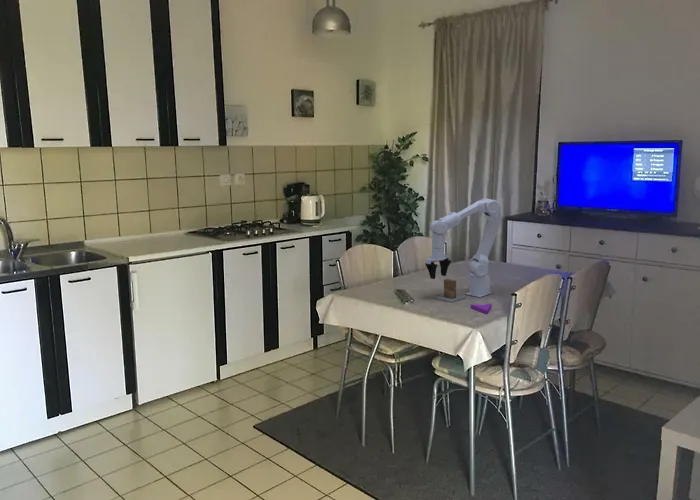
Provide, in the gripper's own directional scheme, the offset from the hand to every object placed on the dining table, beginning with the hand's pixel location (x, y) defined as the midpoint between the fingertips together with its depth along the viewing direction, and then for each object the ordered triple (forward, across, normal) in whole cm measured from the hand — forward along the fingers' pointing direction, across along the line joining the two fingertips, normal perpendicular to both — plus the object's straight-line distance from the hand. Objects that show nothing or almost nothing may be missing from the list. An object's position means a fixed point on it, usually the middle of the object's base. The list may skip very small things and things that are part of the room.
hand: (438, 277), depth 264 cm
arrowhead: (+9, 0, +24) cm, 25 cm away
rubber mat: (+9, -2, +5) cm, 11 cm away
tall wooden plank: (+9, -2, +5) cm, 10 cm away
